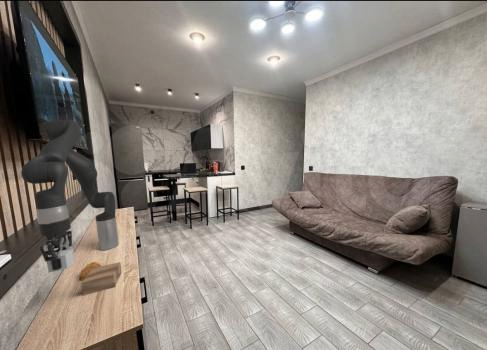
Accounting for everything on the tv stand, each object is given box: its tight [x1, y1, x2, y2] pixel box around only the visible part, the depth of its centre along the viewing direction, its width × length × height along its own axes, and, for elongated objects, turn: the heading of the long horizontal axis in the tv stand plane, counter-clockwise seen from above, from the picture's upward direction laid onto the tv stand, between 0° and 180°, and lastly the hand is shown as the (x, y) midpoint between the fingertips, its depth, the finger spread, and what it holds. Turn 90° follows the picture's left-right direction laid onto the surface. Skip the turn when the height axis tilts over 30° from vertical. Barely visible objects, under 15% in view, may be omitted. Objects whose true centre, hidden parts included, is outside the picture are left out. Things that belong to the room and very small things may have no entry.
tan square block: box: [81, 261, 122, 296], centre depth 73 cm, size 10×10×5 cm
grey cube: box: [46, 248, 75, 273], centre depth 64 cm, size 5×5×5 cm
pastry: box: [79, 261, 103, 281], centre depth 80 cm, size 9×7×4 cm
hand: (61, 264), depth 64 cm, fingers closed on grey cube, 5 cm apart
